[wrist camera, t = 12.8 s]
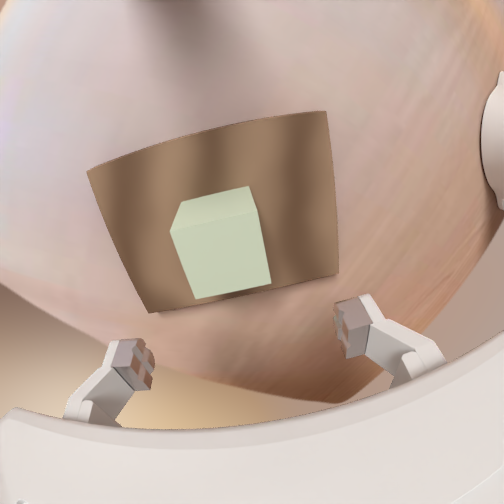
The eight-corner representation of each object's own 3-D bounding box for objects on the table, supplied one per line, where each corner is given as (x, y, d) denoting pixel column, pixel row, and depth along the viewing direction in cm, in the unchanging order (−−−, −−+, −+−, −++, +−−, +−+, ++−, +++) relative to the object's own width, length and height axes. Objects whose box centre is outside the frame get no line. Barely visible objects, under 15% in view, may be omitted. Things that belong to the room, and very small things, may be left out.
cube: (248, 185, 19) (257, 210, 15) (261, 245, 22) (271, 283, 17) (181, 201, 19) (169, 231, 15) (199, 259, 22) (195, 299, 17)
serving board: (319, 110, 18) (326, 111, 17) (333, 264, 25) (338, 273, 24) (94, 167, 18) (86, 171, 17) (151, 303, 25) (148, 313, 24)
